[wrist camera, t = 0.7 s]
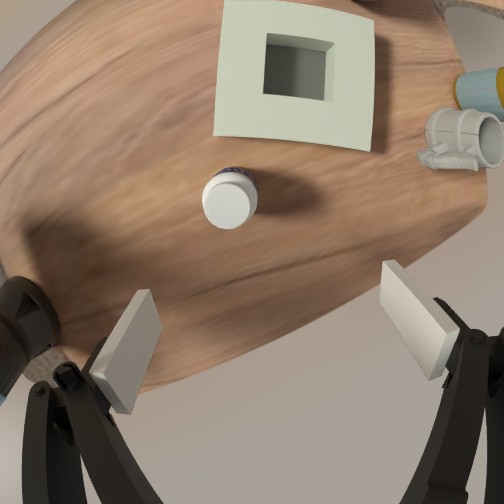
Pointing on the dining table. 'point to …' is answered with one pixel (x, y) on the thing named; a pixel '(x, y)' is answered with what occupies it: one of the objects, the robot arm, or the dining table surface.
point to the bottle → (481, 91)
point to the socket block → (295, 74)
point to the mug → (462, 140)
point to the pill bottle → (230, 198)
